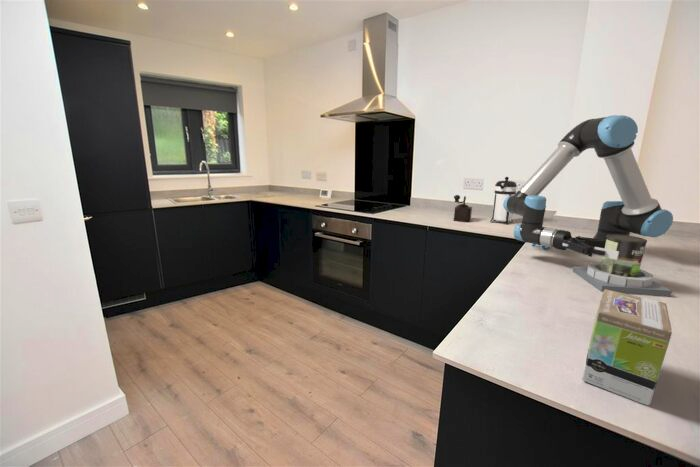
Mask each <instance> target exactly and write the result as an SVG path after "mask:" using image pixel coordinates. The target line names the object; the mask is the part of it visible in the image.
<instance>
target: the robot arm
mask: <svg viewBox="0 0 700 467" xmlns="http://www.w3.org/2000/svg"><path fill="white" fill-rule="evenodd" d="M638 130H639V128H638V125H637V123H636V121H635V120H634V118H632V117H630V116H629V115H628V116H627V115H623V114H622V115H621V114H619V115H618V114H617V115H615V114H614V115H613V114H612V115H609V116H605V117H598V118H591V119H586V120H584V121H582V122H580V123H579V124H576V126H574V127H573V128H572V129H571V130H570V131H569V132H567V133H566V134H565V136H563V138H561V140H560V141H559V142H557V148H556V149H555V150H554V151H553V152H552V153H551V154H550V155H549V157H547V159H546V160H545V161H544V162H543V163H541V165H540V166H539V167H538V168H537V170H536V171H535V172H534V173H533V174H532V175H531V176H530V178H528V179H527V181H526V182H525V183H524V184H523V185H522V186H521V187H520V188H519V189H518V190H517V191H516V194H515V195H514V196H509V197H507V198H506V199H505V200H504V203H503V206H504V209H505V210H506V211H508V212H510V213H513V214H514V215H518V216H521V217H522V219H521V222H518V223H517V224H516V225H515V226H514V229H513V237H514V239H515V240H517V241H521V242H523V243H527V244H531V245H532V244H536V245H538V246H539V245H540V246H545V247H546V248H548V247H550V248H552V249H553V248H554V249H555V250H561V251H566V250H569V251H573V252H576V253H579V254H582V255H584V256H587V257H591V258H592V257H593V256H597V257H601V258H603V257H606V258H610V259H615V260H618V256H619V251H614V250H609V249H604V248H605V243H606V239H607V238H606V236H607V235H609V234H620V235H629V236H631V235H630V234H631V233H632V234H635V235H639V236H643V237H650V238H657V237H660V236H662V235H665V233H666V232H668V230H670V228H671V227H672V225H673V222H674V216H673V214H672V212H671V211H669V210H667V209H665V208H663V209H662V206H661V205H660V203H659V201H658V199H656V198H652V197H651V194H650V191H649V189H648V186H647V184H646V182H645V179H644V177H643V174H642V172H641V169H640V167H639V164H638V162H637V160H636V157H635V155H634V153H633V152H634V151H633V150H632V148H633V147H634V145H635V140H636V139H637V136H638V135H637V134H638V132H639V131H638ZM589 149H594V152H595V154H596V157H598V158H599V159H600V158H601V159H603V160H604V162H605V164H606V167H607V169H608V171H609V173H610V175H611V178H612V181H613V183H614V185H615V187H616V189H617V191H618V194H619V196H620V199H621V201H620V200H619V201H618V200H612V201H611V200H610V201H609V200H608V201H604V202H603V204H602V207H601V210H600V214H599V221H598V227H597V231H596V233H595V235H594V236H593V237H586V236H580V235H578V236H575V237H573V236H572V233H571V231H569V230H564V229H557V228H552V227H549V226H548V227H546V226H543V224H544V219H545V214H546V208H547V198H546V196H543V195H540V194H541V193H542V192H543V191H544V190H545V189H546V188H547V187H548V185H550V183H551V182H552V181H553V180H554V179H555V178H556V177H557V176H558V175H559V174H560V173H561V171H563V170H564V168H566V167H567V165H568V164H569V163H570V162H571V161H572V160H573V159H574V158H575V157H580V155H581V154H582V153H583V152H584V151H586V150H589ZM548 249H549V248H548Z"/></svg>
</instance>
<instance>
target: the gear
mask: <svg viewBox="0 0 700 467" xmlns="http://www.w3.org/2000/svg"><path fill="white" fill-rule="evenodd" d="M536 245H537V244H532V243H531V246H532V247H534V246H536ZM538 246H540V247H541V248H542V249H545V250H549V248H551V247H548V248H546V247H545V246H542V245H538Z"/></svg>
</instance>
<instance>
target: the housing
mask: <svg viewBox="0 0 700 467" xmlns="http://www.w3.org/2000/svg"><path fill="white" fill-rule="evenodd" d="M601 262H602V261H599V262H597V261H596V262H590V263H588V265H587V266H576V265H574V266H572V267H573V268H572V272H573V273H575V274H576V275H577V276H579V277H580V278H581V279H583V280H584V281H585V282H587V283H588V284H590V285H591V286H593V287H594V288H596V289H597V290H598V291H600V292H602V293H603V292H604V290H605V289H607V290H611V291H616V292H620V293H624V294H629V295H641V296H642V295H643V296H652V297H653V296H654V297H655V296H656V297H668V298H669V297H671V294H672V290H671V289H669V288H667V287H665V286H663V285H661V284H660V283H657V282H655V281H654V275H653V274H652V273H650V272H648V271H646V270H643V269H641V268H640V270H639V274H638V278H634V277H624V276H618V275H613V274H609V273H606V272H603V271H600V267H601Z"/></svg>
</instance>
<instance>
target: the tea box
mask: <svg viewBox="0 0 700 467" xmlns="http://www.w3.org/2000/svg"><path fill="white" fill-rule="evenodd" d="M672 333H673V331H672V324H671V319H670V316H669V311H668V306H667V303H666V302H663V301H659V300H655V299H651V298H646V297H643V296H642V297H641V296H637V295H634V294H627V293H620V292H616V291H611V290H607V289H605V290H604V292H602V296H601V298H600V302H599V304H598V308H597V312H596V317H595V319H594V323H593V328H592V332H591V336H590V340H589V341H590V342H589V345H588V349H587V354H586V359H585V362H584V369H583V375H582V379H581V380H582V381H584V382H585V383H589V384H591V385H593V386H596V387H597V388H598V387H599V388H601V389H603V390H605V391H607V392H608V391H609V392H610V393H614V394H615V395H618V396H621V397H623V398H626V399H630V400H631V401H635V402H636V403H638V404H639V403H640V404H642V405H645V406H649V405H650V404H651V403H652V400H653V396H654V393H655V389H656V386H657V383H658V380H659V376H660V373H661V370H662V367H663V364H664V361H665V357H666V354H667V351H668V348H669V347H668V346H669V344H670V341H671V339H672Z"/></svg>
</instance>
